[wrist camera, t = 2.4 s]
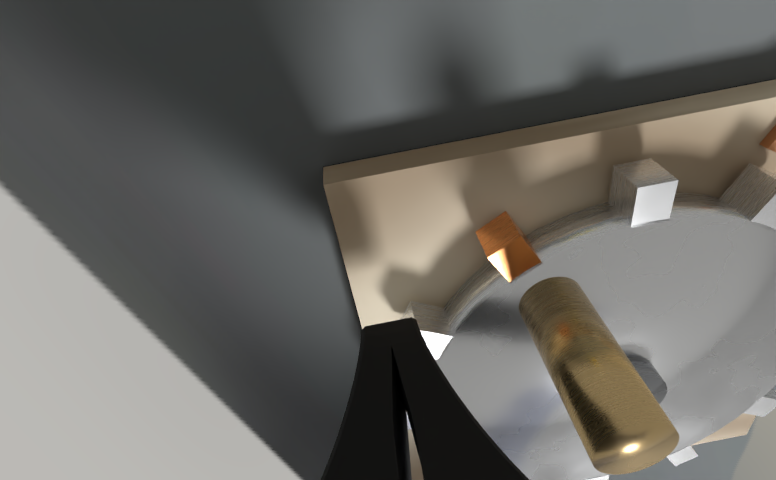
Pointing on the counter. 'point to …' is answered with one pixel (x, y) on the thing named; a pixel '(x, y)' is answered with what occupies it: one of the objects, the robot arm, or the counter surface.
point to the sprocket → (617, 326)
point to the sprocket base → (527, 192)
